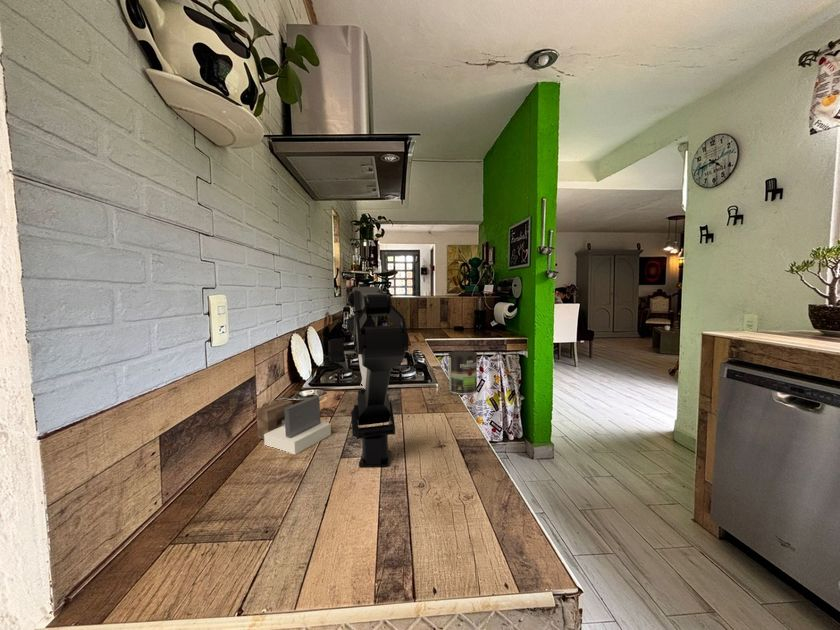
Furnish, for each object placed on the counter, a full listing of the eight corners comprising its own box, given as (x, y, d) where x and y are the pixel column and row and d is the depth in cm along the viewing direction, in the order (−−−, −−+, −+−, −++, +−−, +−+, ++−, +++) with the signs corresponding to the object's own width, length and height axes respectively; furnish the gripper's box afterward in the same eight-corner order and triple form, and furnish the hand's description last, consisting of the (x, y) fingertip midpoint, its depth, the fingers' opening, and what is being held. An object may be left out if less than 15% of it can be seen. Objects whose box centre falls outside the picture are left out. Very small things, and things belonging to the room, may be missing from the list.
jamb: (293, 430, 94) (292, 401, 94) (268, 441, 87) (267, 411, 87) (283, 427, 96) (281, 399, 96) (258, 438, 89) (256, 408, 89)
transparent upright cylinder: (482, 392, 124) (482, 353, 123) (457, 396, 120) (457, 356, 118) (467, 385, 133) (467, 349, 132) (444, 389, 129) (443, 351, 128)
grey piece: (320, 422, 91) (319, 396, 90) (290, 437, 82) (288, 409, 82) (299, 418, 94) (298, 393, 94) (268, 432, 86) (267, 404, 85)
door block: (330, 434, 91) (330, 423, 91) (295, 454, 80) (294, 442, 80) (302, 427, 96) (301, 417, 96) (264, 445, 85) (264, 434, 85)
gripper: (396, 306, 96) (391, 345, 106) (326, 309, 91) (328, 349, 101) (403, 335, 88) (397, 373, 98) (327, 339, 83) (329, 379, 93)
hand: (363, 367), depth 98 cm, fingers open, 9 cm apart
